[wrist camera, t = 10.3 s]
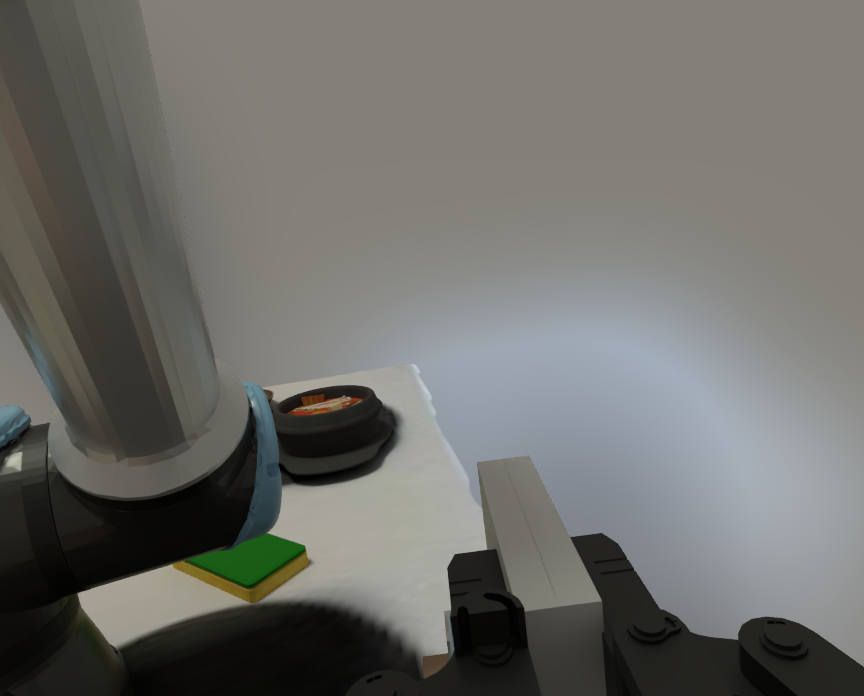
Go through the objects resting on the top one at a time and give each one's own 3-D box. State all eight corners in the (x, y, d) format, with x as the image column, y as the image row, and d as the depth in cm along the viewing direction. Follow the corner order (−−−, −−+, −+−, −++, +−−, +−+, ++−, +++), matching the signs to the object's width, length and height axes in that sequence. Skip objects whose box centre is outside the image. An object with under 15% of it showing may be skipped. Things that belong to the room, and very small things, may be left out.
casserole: (276, 436, 99) (267, 389, 98) (383, 416, 103) (376, 370, 101) (264, 499, 75) (252, 438, 74) (405, 471, 78) (396, 412, 77)
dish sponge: (254, 608, 54) (248, 584, 53) (172, 570, 62) (167, 550, 61) (311, 566, 59) (307, 545, 59) (229, 537, 67) (225, 518, 67)
